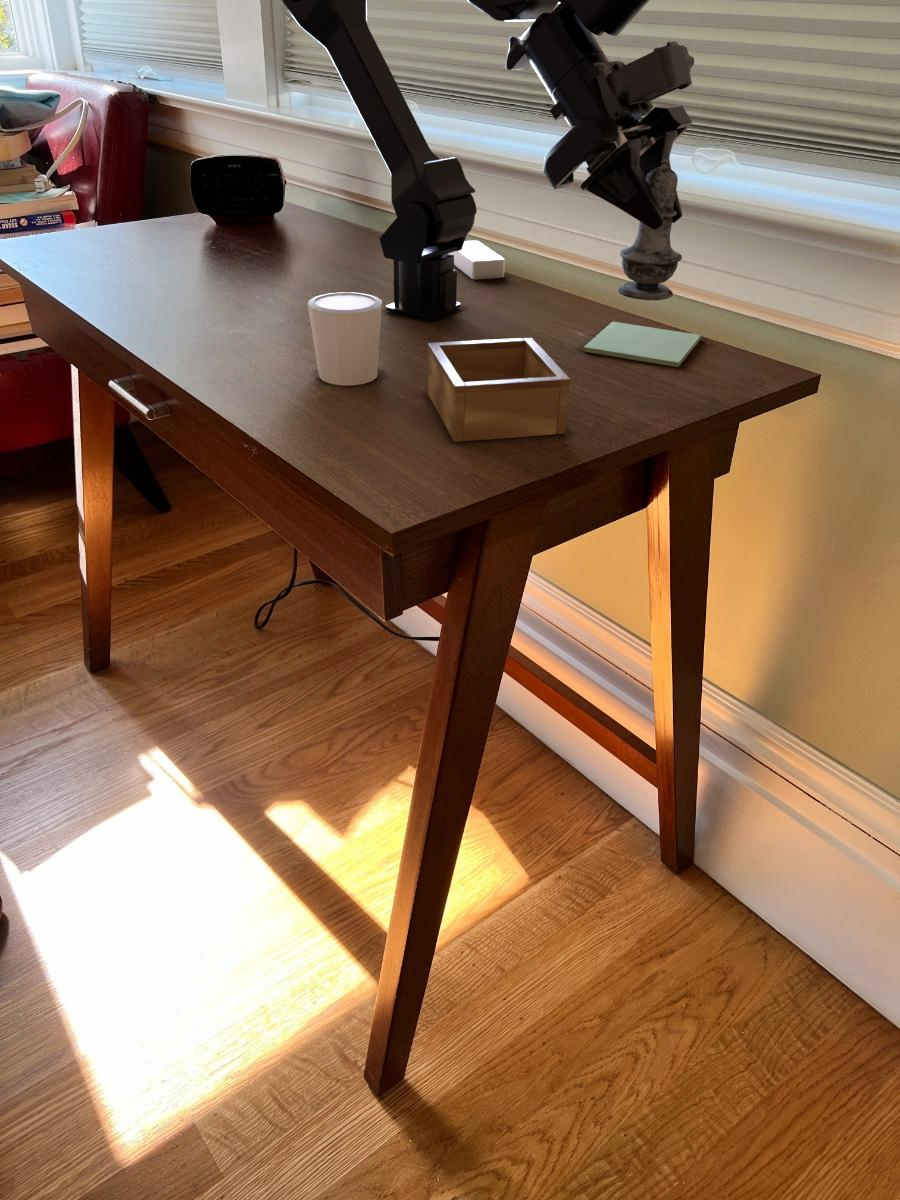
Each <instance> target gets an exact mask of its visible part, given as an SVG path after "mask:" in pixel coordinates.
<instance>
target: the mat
mask: <svg viewBox="0 0 900 1200" xmlns="http://www.w3.org/2000/svg"><path fill="white" fill-rule="evenodd" d="M701 340H702V334H697V333H691V332H683V331H676V330H670V329H663V328H657V327H651V326H645V325H638V324H631V323H626V322H625V323H624V322H618V321H611V322H610V323H609V324H608V325H607V326H606V327H605V328H604V329H602V330H601V331H600V332H599V333H598V334H597V335H595V337H593V338H592V339H590V341H589V342H587V344H584V346H583V349H582V351H583V352H584V353H589V354H590V353H591V354H597V355H601V356H602V355H603V356H609V357H614V358H620V359H626V360H631V361H638V362H644V363H650V364H656V365H661V366H667V367H672V368H673V367H674V368H679V367H680V366H681V365H682V363H683V362H684V361H685V360H686V358H687V357H688V356H689V355H690V353H691V352H692V351H693V349H694V348H696V346H697V345H698V344H699V342H700V341H701Z"/></svg>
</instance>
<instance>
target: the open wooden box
mask: <svg viewBox="0 0 900 1200" xmlns="http://www.w3.org/2000/svg"><path fill="white" fill-rule="evenodd" d="M427 350H428V351H427V352H428V353H427V395H428V397H429V399H430V400H431V402H432V404H433V406H434V408H435V410H436V412H437V413H438V416H439V417H440V419H441V420H442V422H443V424H444V426H445V428H446V430H447V431H448V434H449V435H450V437H451V439H452V441H453V442H454V443H460V442H474V441H486V440H487V441H488V440H498V439H499V440H500V439H513V438H527V437H536V436H537V437H540V436H552V435H564V434H565V433H566V425H567V424H566V423H567V416H568V415H567V414H568V406H569V405H568V404H569V395H570V386H571V378H570V377H569V376H568V375H567V373H565V371H564V370H563V369H562V368H561V367H560V365H558V364H557V363H556V362H555V361H554V360H553V358H552V357H551V356H550V355H549V354H548V353H547V352H546V351H545V350H544V349H543V348H542V347H541V346H540V345H539V343H538V342H536V340H535V339H534V338H533V337H515V338H512V337H511V338H496V339H495V338H494V339H477V340H460V341H459V340H457V341H443V342H441V341H440V342H439V341H438V342H428V343H427Z"/></svg>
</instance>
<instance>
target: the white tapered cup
mask: <svg viewBox="0 0 900 1200" xmlns="http://www.w3.org/2000/svg"><path fill="white" fill-rule="evenodd" d="M382 307H383V300H382V299H380V297H378V296H375V295H372V294H368V293H363V292H362V293H361V292H353V291H352V292H348V291H345V292H341V291H340V292H339V291H338V292H330V293H324V294H320V295H316V296H314V297H312V298H310V299H309V300H308V302H307V310H308V317H309V323H310V328H311V329H310V330H311V335H312V342H313V348H314V353H315V359H316V367H317V373H318V378H319V379H321V381H322V382H325V383H328V384H330V385H335V386H358V385H364V384H367V383H370V382H373V381H375V379H377V378H378V371H379V370H378V368H379V355H380V354H379V353H380V340H381V323H382V309H383V308H382Z"/></svg>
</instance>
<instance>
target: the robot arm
mask: <svg viewBox="0 0 900 1200" xmlns="http://www.w3.org/2000/svg"><path fill="white" fill-rule="evenodd" d="M281 1H282V3H283V5H284V6H285V8H286V9H287V11H288V12H289V13H290V15H291V16H292V18H293V20H295V22H296V24H298V26H299V28H301V29H302V30H303V31H305V32H306V33H307V34H308V35H310V36H311V37H312V38H313V39H314V40H316V42H318V43H319V44H320V45H322V46H323V47H324V49H325V50H326V51H327V53H328V55H329V58H330V59H331V61H332V63H333V65H334V67H335V68H336V70H337V72H338V74H339V76H340V78H341V81H342V82H343V84H344V86H345V88H346V90H347V92H348V94H349V96H350V98H351V100H352V101H353V103H354V105H355V107H356V109H357V111H358V113H359V115H360V117H361V120H362V121H363V123H364V125H365V127H366V129H367V130H368V133H369V134H370V136H371V138H372V140H373V142H374V144H375V146H376V148H377V150H378V152H379V154H380V156H381V158H382V159H383V161H384V163H385V165H386V168H387V170H388V171H389V174H390V178H391V179H390V180H391V182H390V183H391V185H390V187H391V188H390V189H391V190H390V191H391V196H390V197H391V199H390V200H391V206H392V208H393V211H394V213H395V219H394V220H393V222H392V223H390V225H389V226H388V227H387V228H386V230H384V232H383V233H382V234H381V236H380V237H379V243H380V247H381V250H382V255H383V258H384V259H389V260H392V263H393V264H392V265H393V266H392V267H393V268H392V271H393V302H392V303H389V304H387V305H385V310H386V311H387V312H392V313H396V314H400V315H404V316H405V315H406V316H410V317H413V318H419V319H424V320H435V319H437V318H440V317H442V316H445V315H447V314H448V313H451V312H453V311H455V310H458V309H459V308H461V302H459V301H457V294H458V293H457V290H458V282H457V281H458V272H457V270H456V269H455V265H454V255H450V254H448V253H452V252H455V251H461V250H462V248H463V245H464V242H465V241H466V238H467V236H468V235H469V233H470V232H471V231H472V229H473V226H474V224H475V220H476V219H475V218H476V214H477V212H478V210H477V205H476V201H475V198H474V196H473V194H474V193H476V189H475V187H473V186H472V184H470V182H469V181H468V180H467V177H466V175H465V172H464V169H463V167H462V164H461V162H460V160H458V158H457V157H449V158H444V159H443V158H442V159H441V158H440V157H438V156H437V155H436V154H435V153H434V152H433V151H432V149H431V148H430V146H429V144H428V142H427V140H426V138H425V136H424V134H423V132H422V130H421V128H420V126H419V125H418V123H417V120H416V119H415V117H414V114H413V112H412V111H411V109H410V107H409V105H408V103H407V101H406V99H405V97H404V95H403V93H402V91H401V89H400V87H399V85H398V83H397V82H396V79H395V77H394V75H393V73H392V72H391V69H390V67H389V65H388V63H387V62H386V60H385V57H384V56H383V54H382V52H381V49H380V47H379V45H378V44H377V42H376V40H375V38H374V36H373V34H372V32H371V30H370V28H369V25H368V19H367V18H368V17H367V16H368V14H367V13H368V12H367V11H368V7H367V6H368V5H367V0H281ZM466 1H467V2H468V3H469V4H471V5H472V6H474V7H475V8H477V10H479V11H481V12H482V13H484V14H485V15H487V16H488V17H489V18H491V19H493V20H495V21H498V22H532V24H531V25H530V26H529V27H528V29H527V30H526V31H525V32H524V33H523V34H522V35H511V36H510V37H509V38H508V42H509V47H508V52H507V54H506V60H505V68H506V70H508V71H519V70H528V69H531V67H532V68H533V69H534V71H535V73H536V74H537V76H538V78H539V79H540V81H541V82H542V84H543V85H544V87H545V89H546V91H547V92H548V93H549V95H550V97H551V99H552V101H553V102H554V105H553V106H552V108H550V109H549V112H550V114H551V116H552V117H553V119H554V120H555V121H558V120H565V122H566V123H567V125H568V126H569V127H570V129H568V130H567V132H566V133H565V134H564V135H563V136H562V137H561V138H560V139H559V140H557V142H556V143H555V144H554V145H553V146H552V147H551V148H550V149H549V150H548V152H547V153H545V154H544V157H543V158H544V160H543V170H542V171H543V174H544V175H545V177H546V178H547V180H548V182H549V183H550V185H551V187H552V188H553V190H559V189H562V188H566V187H569V186H571V185H572V184H573V183H574V181H575V180H574V172H575V171H576V170H578V168H579V167H580V166H582V164H583V163H586V165H587V167H586V168H585V171H586V172H587V173H588V176H587V177H586V178H585V179H584V181H582V182H581V183H580V185H579V188H580V189H581V190H582V191H587V192H589V193H591V194H593V195H595V196H597V197H598V198H600V199H601V200H603V201H605V202H607V203H609V204H610V205H612V206H614V207H616V208H618V209H619V210H621V211H623V212H624V213H626V215H627V214H628V215H629V216H630V217H632V218H634V219H635V220H638V222H639V221H640V222H642V223H644V224H645V225H647V226H648V227H650V228H652V229H653V230H656V229H658V228H659V227H660V226H662V225H663V224H664V219H663V217H662V214H661V212H660V209H659V207H658V205H657V202H656V200H655V198H654V196H653V194H652V192H651V190H650V188H649V185H648V183H647V181H646V177H647V175H648V173H649V172H650V171H652V170H654V169H657V168H658V167H659V166H661V165H662V163H661V161H662V159H663V158H664V157H666V159H667V161H668V163H667V167H669V169H671V170H672V166H671V161H670V156H671V152H672V149H673V146H674V145H673V144H674V142H675V141H676V140H677V139H678V138H679V137H680V136H681V135H682V134H684V133H685V132H686V130H688V129H689V128H690V127H691V126H692V124H693V121H692V119H691V117H690V116H689V113H687V111H686V109H685V108H684V106H683V105H679V104H678V105H677V104H665V105H659V106H654V105H653V104H652V102H651V101H653V100H656V99H658V98H660V97H662V96H665V95H667V94H669V93H672V92H673V91H676V90H684V89H686V88H689V87H690V86H691V85H693V81H692V77H691V68H692V67H694V65H695V57H693V56H692V55H690V53H689V52H688V47H687V46H685V45H683V44H682V45H680V44H679V42H678V41H666V43H665V45H663V46H660V47H658V46H657V47H655V48H654V49H653V50H652V51H651V52H649V53H647V54H645V55H643V56H641V57H639V58H637V59H635V60H633V61H630V62H629V63H627V64H625V62H623V61H620V60H615V61H614V60H613V61H610V60H609V59H608V57H607V55H606V53H605V52H604V50H603V49H602V47H601V45H600V43H598V40H597V39H596V37H595V36H598V37H600V36H603V34H604V33H606V34H607V35H609V36H613V37H616V36H618V35H620V34H621V32H622V31H623V30H624V29H625V28H626V27H627V26H628V25H629V24H630V22H632V20H633V19H634V18H635V17H636V16H637V15H638V14H639V13H640V11H641V10H643V8H644V7H645V6H646V5H647V4H648V3H649V2H650V1H651V0H466ZM594 35H595V36H594ZM642 117H643V118H642ZM641 118H642V119H641ZM640 119H641V120H640ZM639 120H640V121H639ZM673 209H674V210H675V211H676V212H677V214H676V215H675V216H673V219H672V224H675V223H677V222H678V221H679V220H681V218H682V217H683V211H682V206H681V203H680V200H679V195H678V192H677V190H676V195H675V201H674V207H673Z"/></svg>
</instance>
